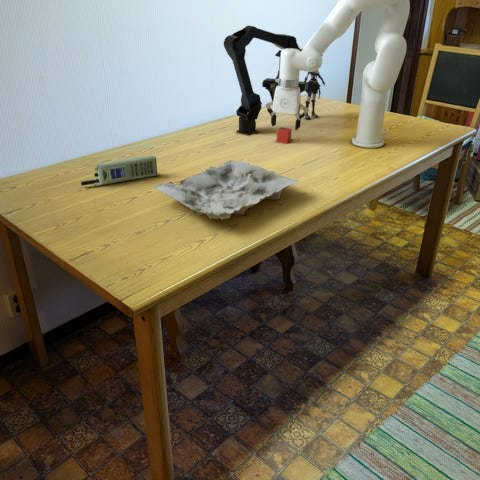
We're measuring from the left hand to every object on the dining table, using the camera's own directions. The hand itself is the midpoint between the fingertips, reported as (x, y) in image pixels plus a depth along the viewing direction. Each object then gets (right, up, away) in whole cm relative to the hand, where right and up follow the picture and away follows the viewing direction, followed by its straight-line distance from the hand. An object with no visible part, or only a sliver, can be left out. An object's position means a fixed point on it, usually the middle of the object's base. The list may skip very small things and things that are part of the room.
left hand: (283, 105), depth 218 cm
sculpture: (-23, -46, -64) cm, 82 cm away
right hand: (-1, -14, -17) cm, 22 cm away
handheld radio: (-58, -39, -52) cm, 87 cm away
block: (-1, -18, -14) cm, 23 cm away
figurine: (+13, -2, +16) cm, 21 cm away
